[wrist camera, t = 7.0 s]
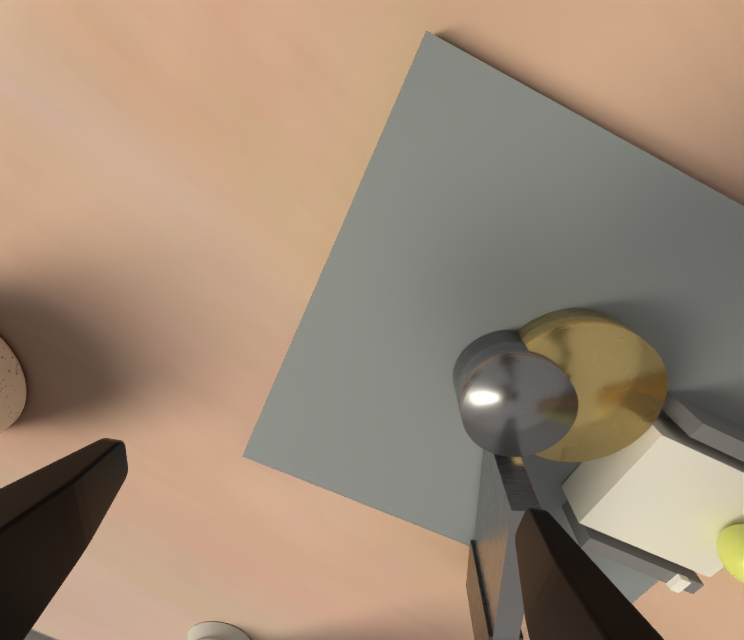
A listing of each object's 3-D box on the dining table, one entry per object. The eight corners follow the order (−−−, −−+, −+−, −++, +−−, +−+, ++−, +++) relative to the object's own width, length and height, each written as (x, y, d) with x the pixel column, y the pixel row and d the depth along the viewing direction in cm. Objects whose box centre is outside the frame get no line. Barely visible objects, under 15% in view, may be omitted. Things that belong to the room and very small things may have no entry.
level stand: (425, 36, 16) (432, 4, 12) (933, 316, 19) (1054, 353, 15) (247, 446, 24) (222, 496, 20) (620, 595, 27) (652, 660, 23)
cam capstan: (439, 581, 26) (450, 684, 21) (456, 308, 19) (478, 366, 14) (584, 587, 25) (630, 694, 20) (657, 308, 18) (756, 368, 13)
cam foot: (633, 403, 20) (703, 479, 16) (761, 463, 21) (863, 551, 16) (561, 486, 22) (603, 573, 18) (680, 536, 23) (750, 632, 19)
